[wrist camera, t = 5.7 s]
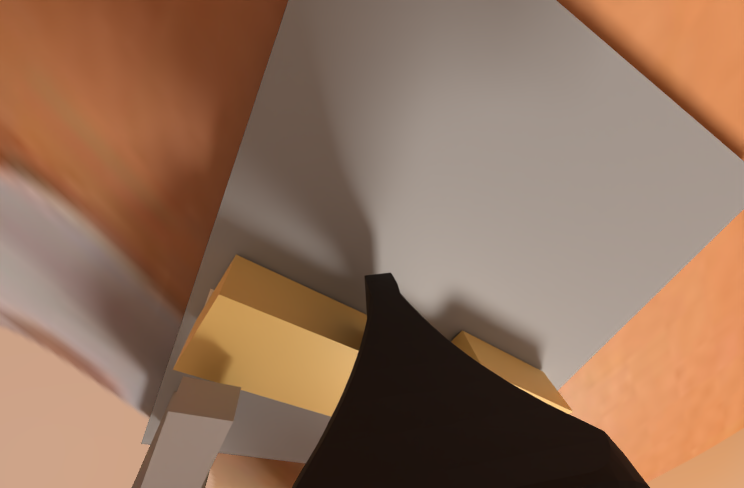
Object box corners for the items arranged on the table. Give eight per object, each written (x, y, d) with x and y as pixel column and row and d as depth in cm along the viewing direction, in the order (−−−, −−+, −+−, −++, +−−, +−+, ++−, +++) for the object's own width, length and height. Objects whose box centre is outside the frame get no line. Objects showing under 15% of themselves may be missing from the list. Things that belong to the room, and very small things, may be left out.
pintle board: (457, 464, 20) (500, 588, 15) (151, 420, 14) (69, 597, 10) (738, 175, 13) (992, 241, 8) (343, -149, 7) (402, -603, 2)
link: (543, 371, 15) (572, 411, 13) (465, 438, 17) (482, 481, 15) (254, 224, 10) (240, 259, 8) (181, 344, 11) (156, 395, 10)
